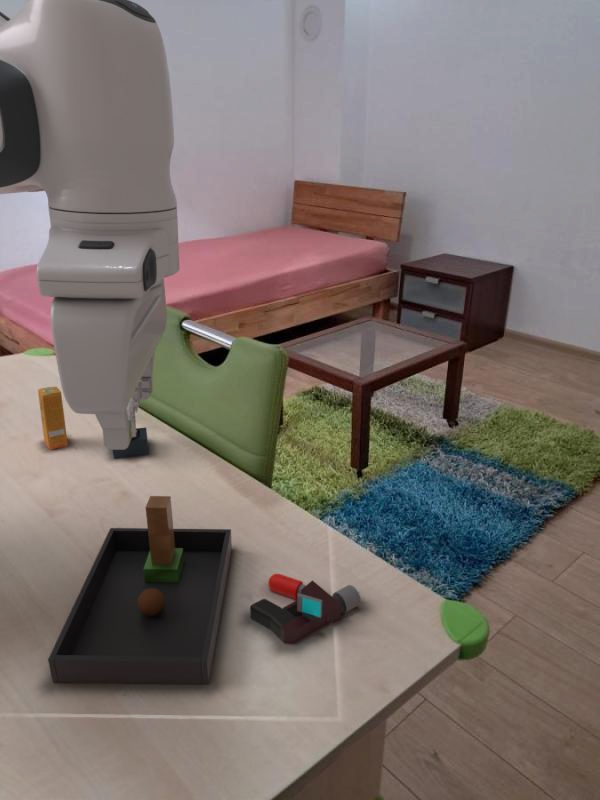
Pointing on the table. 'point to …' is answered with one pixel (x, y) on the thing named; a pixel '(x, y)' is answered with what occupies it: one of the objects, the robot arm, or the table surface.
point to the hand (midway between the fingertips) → (131, 418)
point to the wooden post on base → (162, 543)
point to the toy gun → (302, 608)
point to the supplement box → (52, 417)
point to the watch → (134, 435)
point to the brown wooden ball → (151, 602)
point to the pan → (136, 633)
